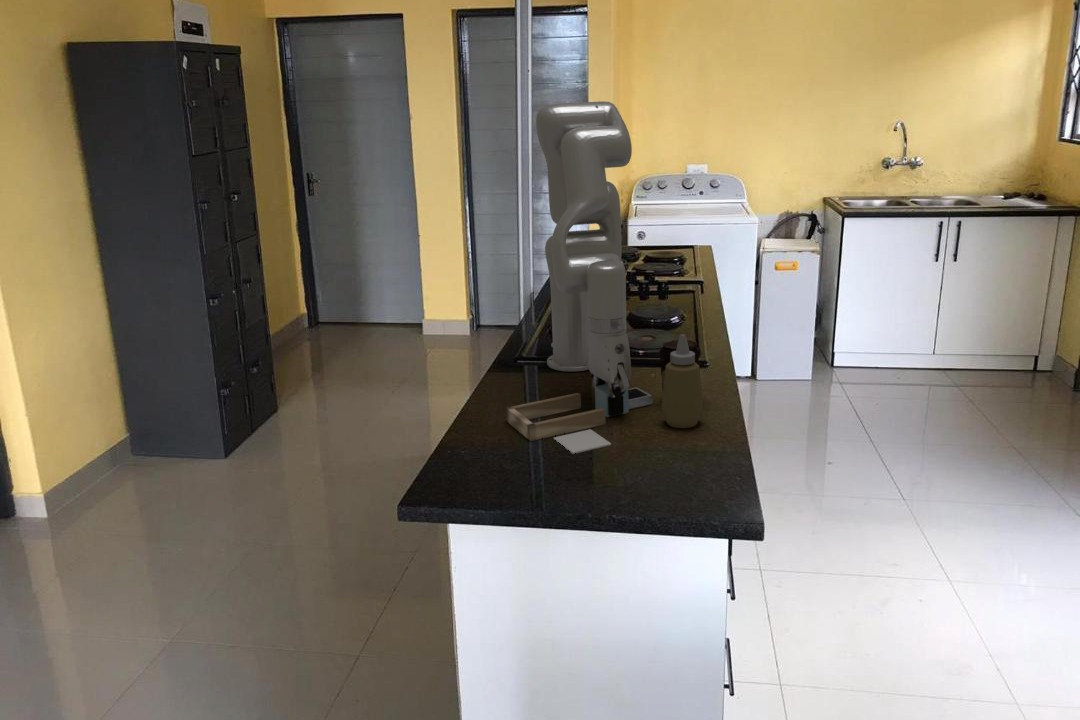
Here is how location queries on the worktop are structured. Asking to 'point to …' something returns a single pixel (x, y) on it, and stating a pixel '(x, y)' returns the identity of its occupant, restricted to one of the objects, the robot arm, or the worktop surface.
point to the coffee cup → (671, 347)
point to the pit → (638, 398)
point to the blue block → (602, 398)
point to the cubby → (552, 427)
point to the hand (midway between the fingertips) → (608, 409)
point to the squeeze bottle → (682, 388)
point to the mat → (582, 441)
